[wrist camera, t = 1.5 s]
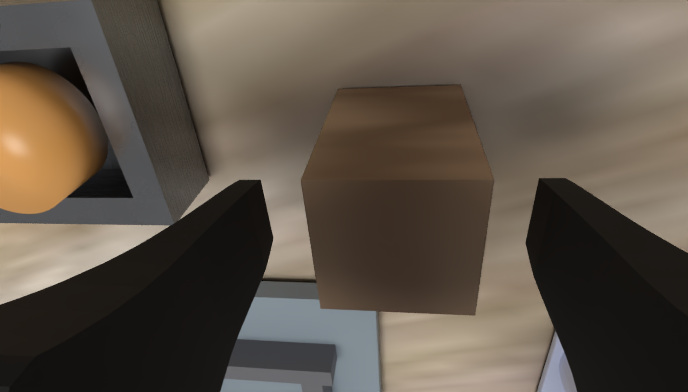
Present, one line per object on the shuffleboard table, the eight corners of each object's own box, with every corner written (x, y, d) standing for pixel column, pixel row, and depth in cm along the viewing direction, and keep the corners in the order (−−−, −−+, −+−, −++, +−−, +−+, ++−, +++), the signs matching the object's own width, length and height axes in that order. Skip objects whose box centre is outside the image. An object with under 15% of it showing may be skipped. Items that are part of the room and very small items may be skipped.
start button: (75, 58, 12) (20, 80, 10) (126, 179, 14) (88, 214, 12) (-46, 64, 12) (-117, 86, 11) (21, 180, 14) (-28, 213, 13)
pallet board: (376, 284, 19) (373, 330, 16) (383, 445, 26) (382, 490, 24) (113, 276, 20) (80, 315, 18) (191, 428, 28) (174, 468, 26)
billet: (460, 84, 13) (494, 180, 8) (452, 189, 15) (475, 315, 10) (338, 89, 14) (300, 180, 9) (346, 189, 16) (320, 308, 11)
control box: (152, -16, 13) (90, -1, 10) (209, 179, 16) (174, 225, 14) (-42, -1, 14) (-142, 16, 11) (53, 180, 17) (-5, 222, 15)
